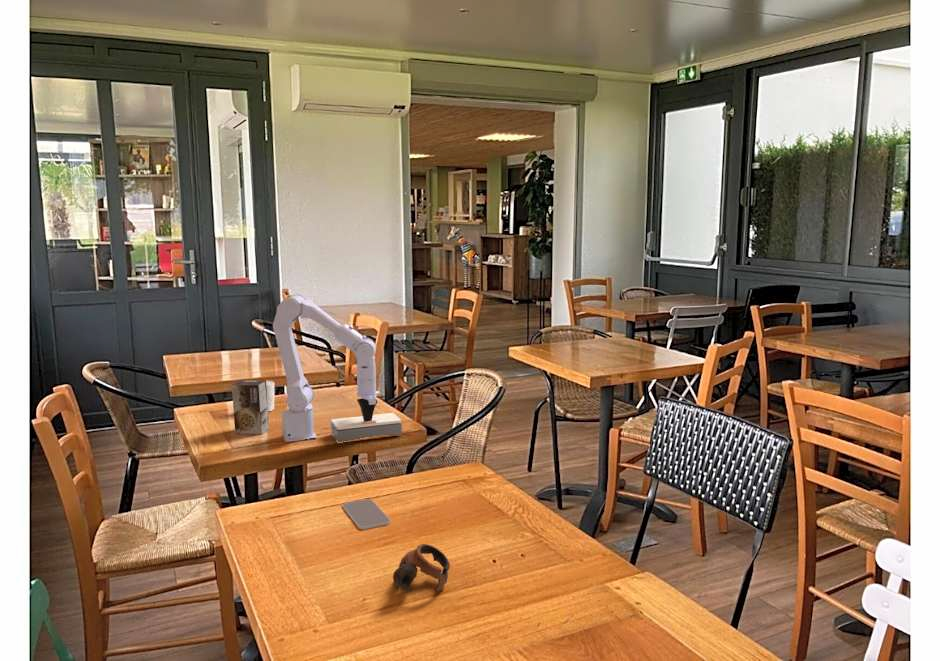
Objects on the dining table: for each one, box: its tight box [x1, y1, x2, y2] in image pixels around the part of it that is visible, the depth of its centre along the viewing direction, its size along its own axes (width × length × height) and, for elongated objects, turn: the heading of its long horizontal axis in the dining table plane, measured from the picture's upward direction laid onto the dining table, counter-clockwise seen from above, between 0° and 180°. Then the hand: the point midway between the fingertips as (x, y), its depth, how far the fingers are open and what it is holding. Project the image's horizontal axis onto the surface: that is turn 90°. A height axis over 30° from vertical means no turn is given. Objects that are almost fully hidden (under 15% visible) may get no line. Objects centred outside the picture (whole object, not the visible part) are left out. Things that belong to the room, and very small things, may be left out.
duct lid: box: [330, 412, 403, 430], centre depth 220 cm, size 20×10×1 cm, turn 112°
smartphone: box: [341, 498, 391, 531], centre depth 163 cm, size 7×1×15 cm
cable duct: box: [330, 421, 403, 442], centre depth 221 cm, size 20×10×4 cm, turn 112°
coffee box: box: [231, 379, 270, 435], centre depth 224 cm, size 9×6×16 cm
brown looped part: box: [392, 543, 451, 592], centre depth 131 cm, size 12×10×8 cm
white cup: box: [266, 380, 275, 412], centre depth 248 cm, size 8×8×10 cm
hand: (367, 421), depth 219 cm, fingers closed, pressing on duct lid
